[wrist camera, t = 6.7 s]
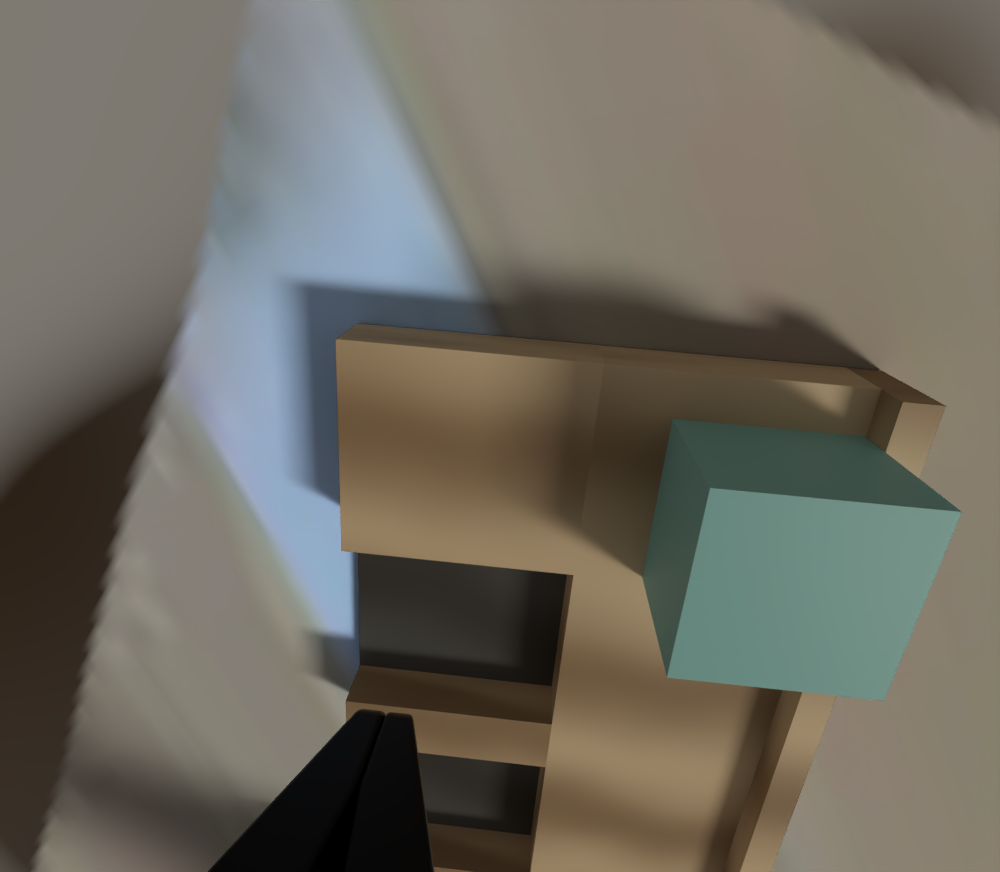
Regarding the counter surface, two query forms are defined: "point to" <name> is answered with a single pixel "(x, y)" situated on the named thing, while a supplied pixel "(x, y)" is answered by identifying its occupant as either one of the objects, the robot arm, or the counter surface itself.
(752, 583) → the block
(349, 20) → the counter surface
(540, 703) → the tray
